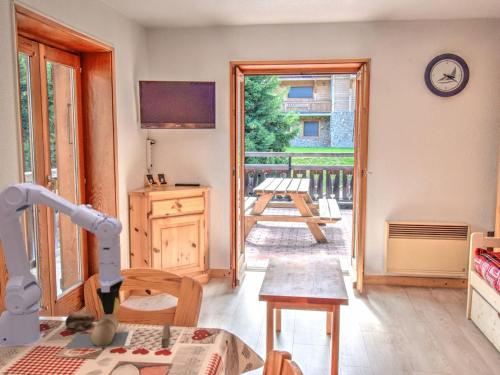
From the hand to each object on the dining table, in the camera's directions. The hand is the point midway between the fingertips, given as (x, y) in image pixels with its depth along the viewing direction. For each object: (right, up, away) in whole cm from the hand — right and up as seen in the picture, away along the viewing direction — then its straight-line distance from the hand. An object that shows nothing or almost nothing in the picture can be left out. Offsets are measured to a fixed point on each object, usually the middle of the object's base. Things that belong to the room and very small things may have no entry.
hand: (110, 310), depth 125 cm
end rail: (+15, -9, +3) cm, 17 cm away
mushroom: (-12, -9, +9) cm, 17 cm away
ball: (0, -1, 0) cm, 1 cm away
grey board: (-2, -9, 0) cm, 9 cm away
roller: (-1, -9, 0) cm, 9 cm away
